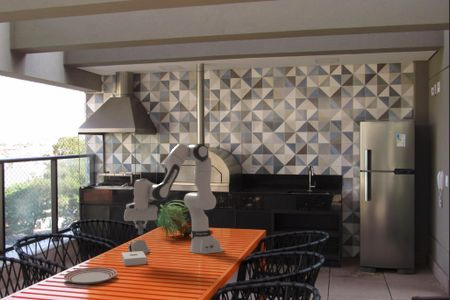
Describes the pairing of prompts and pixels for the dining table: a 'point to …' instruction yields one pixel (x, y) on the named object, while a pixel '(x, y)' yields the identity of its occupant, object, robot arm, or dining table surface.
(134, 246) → the grey curved slotted block
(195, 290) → the dining table surface
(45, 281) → the dining table surface
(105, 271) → the dinner plate
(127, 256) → the grey block with hole
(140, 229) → the pin
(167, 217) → the plant
